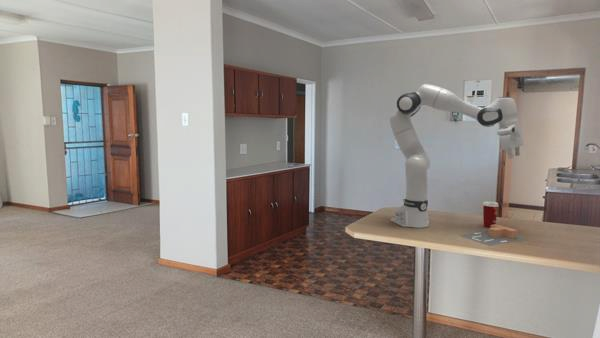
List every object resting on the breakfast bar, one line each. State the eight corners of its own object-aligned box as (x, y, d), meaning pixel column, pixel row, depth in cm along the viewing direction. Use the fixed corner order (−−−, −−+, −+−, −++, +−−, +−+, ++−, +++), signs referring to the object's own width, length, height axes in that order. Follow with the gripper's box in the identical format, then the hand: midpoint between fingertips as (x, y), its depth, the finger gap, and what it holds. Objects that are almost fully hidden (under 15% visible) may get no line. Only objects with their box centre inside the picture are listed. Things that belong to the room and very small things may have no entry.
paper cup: (499, 230, 212) (500, 204, 210) (483, 229, 214) (484, 203, 212) (495, 226, 220) (496, 201, 218) (479, 226, 221) (481, 200, 220)
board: (458, 237, 200) (458, 234, 199) (494, 231, 210) (494, 229, 210) (489, 247, 183) (489, 245, 183) (526, 241, 194) (527, 238, 194)
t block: (481, 234, 202) (481, 226, 201) (495, 232, 206) (496, 224, 205) (502, 240, 191) (502, 232, 190) (517, 238, 195) (517, 230, 195)
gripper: (510, 128, 209) (514, 155, 209) (495, 132, 195) (500, 160, 195) (523, 126, 204) (528, 153, 205) (509, 129, 190) (514, 158, 190)
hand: (514, 157), depth 200 cm, fingers open, 8 cm apart
